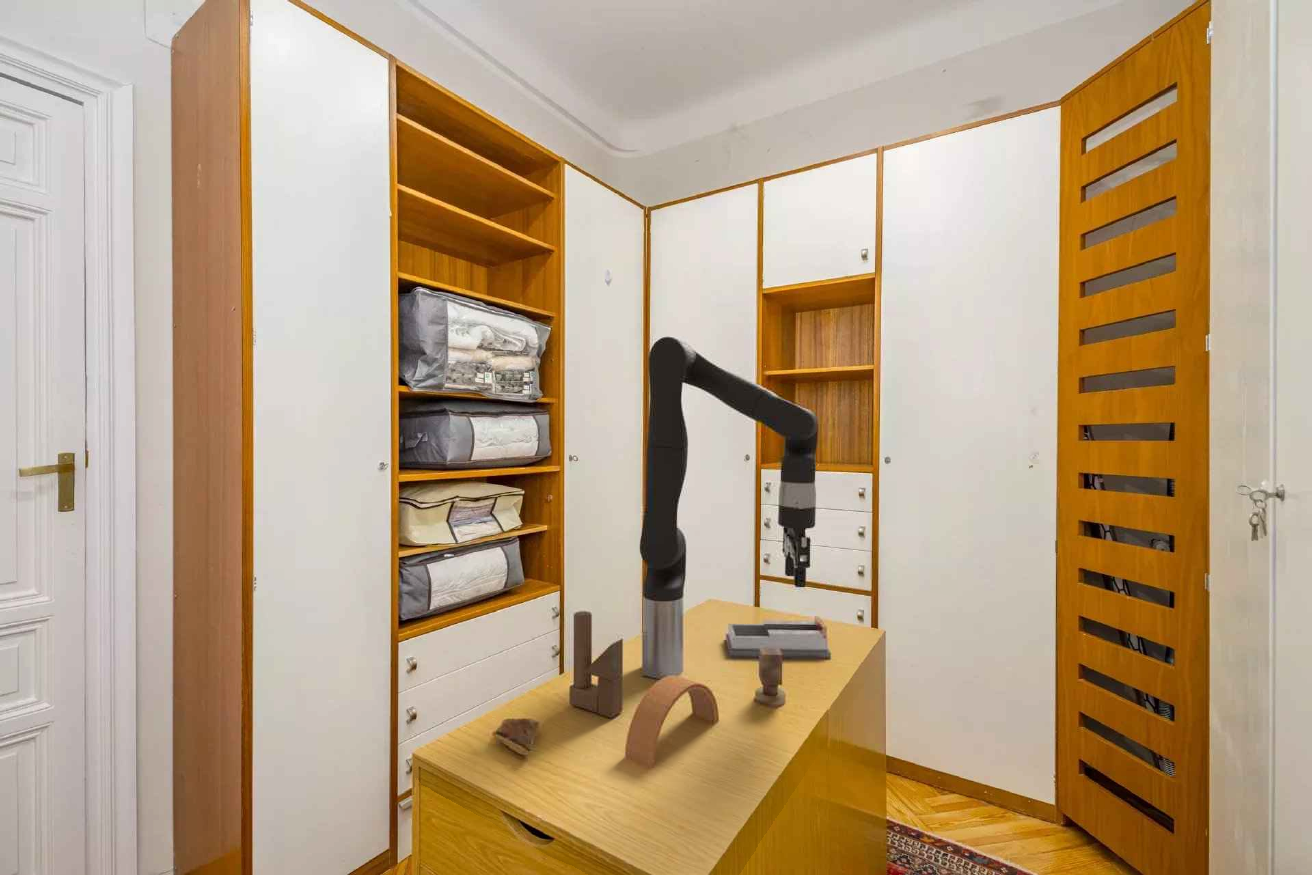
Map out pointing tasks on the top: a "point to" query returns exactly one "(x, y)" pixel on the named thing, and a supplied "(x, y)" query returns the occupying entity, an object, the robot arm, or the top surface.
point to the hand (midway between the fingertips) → (794, 581)
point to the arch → (664, 714)
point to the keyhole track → (779, 639)
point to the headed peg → (770, 677)
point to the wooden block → (595, 671)
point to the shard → (517, 734)
